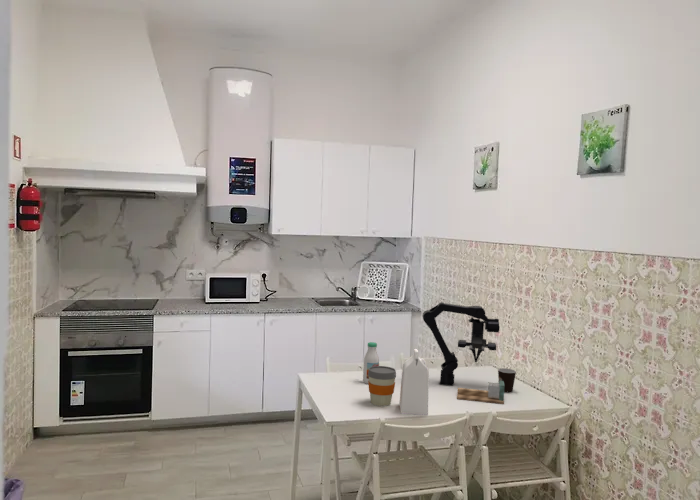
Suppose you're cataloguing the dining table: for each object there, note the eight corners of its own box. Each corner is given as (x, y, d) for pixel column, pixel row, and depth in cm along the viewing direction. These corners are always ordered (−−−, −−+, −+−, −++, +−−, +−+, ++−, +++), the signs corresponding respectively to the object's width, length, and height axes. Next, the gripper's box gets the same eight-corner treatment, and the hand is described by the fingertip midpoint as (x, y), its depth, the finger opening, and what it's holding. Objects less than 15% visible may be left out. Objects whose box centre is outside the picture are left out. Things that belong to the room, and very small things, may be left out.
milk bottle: (360, 383, 280) (362, 343, 279) (366, 379, 288) (367, 340, 286) (375, 385, 278) (377, 345, 276) (380, 381, 285) (382, 342, 284)
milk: (399, 404, 251) (402, 346, 250) (425, 405, 251) (428, 347, 249) (400, 413, 239) (403, 353, 238) (428, 414, 239) (431, 354, 237)
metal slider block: (488, 397, 262) (488, 385, 261) (487, 394, 267) (488, 382, 267) (499, 398, 261) (499, 386, 260) (498, 395, 266) (499, 383, 266)
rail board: (456, 399, 262) (457, 382, 261) (457, 391, 273) (458, 375, 273) (503, 404, 257) (504, 387, 257) (502, 396, 269) (503, 379, 268)
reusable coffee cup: (375, 396, 261) (376, 364, 260) (399, 401, 254) (401, 369, 254) (361, 403, 250) (363, 370, 249) (386, 409, 244) (388, 375, 243)
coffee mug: (515, 394, 274) (516, 373, 273) (497, 392, 275) (498, 372, 275) (513, 387, 285) (514, 367, 284) (496, 385, 287) (497, 366, 286)
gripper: (458, 332, 278) (456, 364, 279) (497, 336, 274) (495, 367, 275) (459, 328, 289) (457, 358, 290) (496, 331, 285) (494, 362, 286)
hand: (475, 361), depth 285 cm, fingers closed
